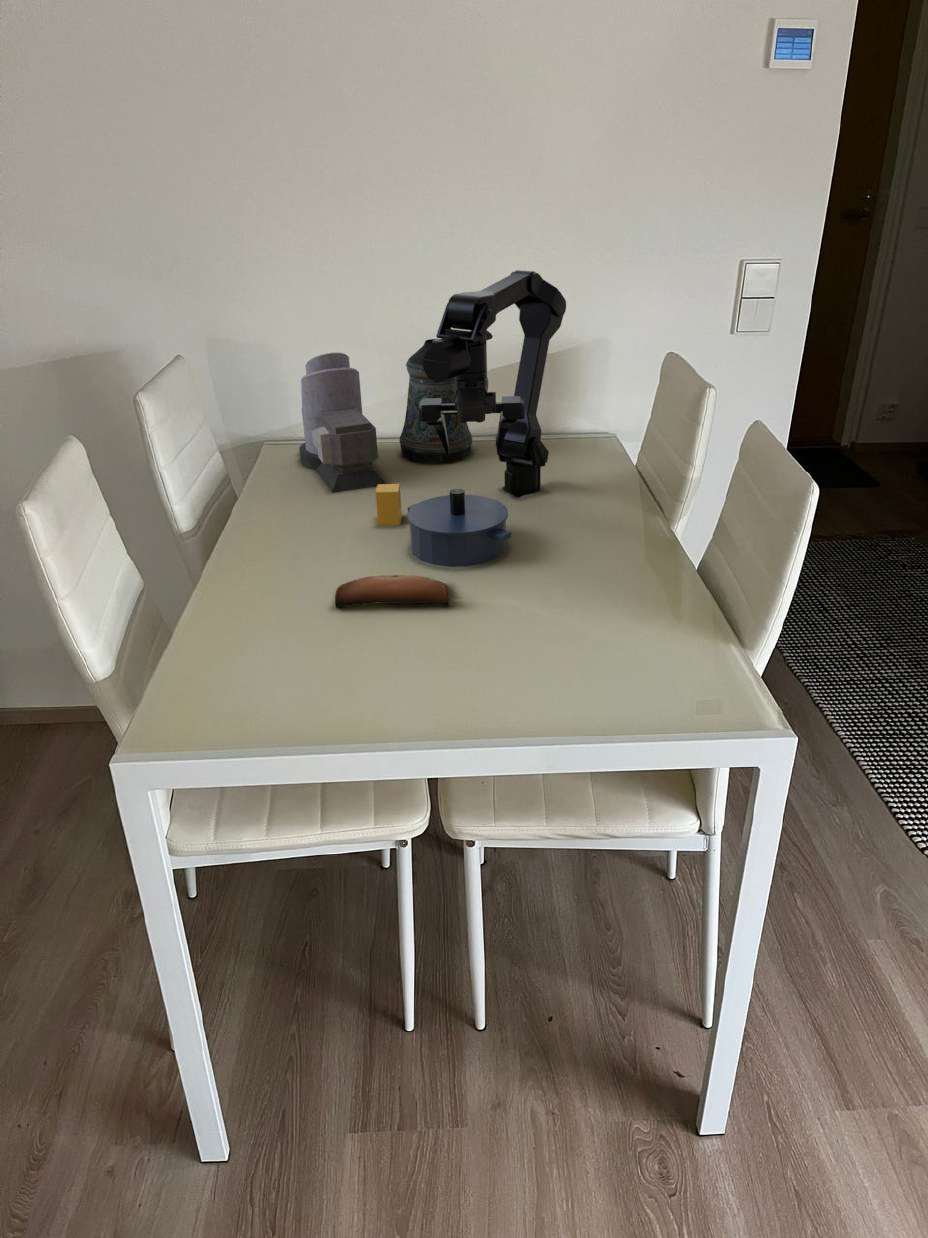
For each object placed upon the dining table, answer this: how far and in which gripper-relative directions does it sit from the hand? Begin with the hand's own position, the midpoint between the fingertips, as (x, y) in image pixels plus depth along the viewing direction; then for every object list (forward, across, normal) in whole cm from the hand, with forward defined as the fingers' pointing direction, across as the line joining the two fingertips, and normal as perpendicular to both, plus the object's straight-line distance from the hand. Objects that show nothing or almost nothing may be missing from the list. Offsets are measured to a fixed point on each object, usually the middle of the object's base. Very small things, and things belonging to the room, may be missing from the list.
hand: (472, 454), depth 176 cm
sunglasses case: (+13, -13, -32) cm, 37 cm away
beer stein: (+13, -7, +41) cm, 43 cm away
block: (+13, -16, 0) cm, 21 cm away
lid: (+6, -3, -13) cm, 15 cm away
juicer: (+13, -29, +33) cm, 46 cm away
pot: (+13, -3, -13) cm, 19 cm away
